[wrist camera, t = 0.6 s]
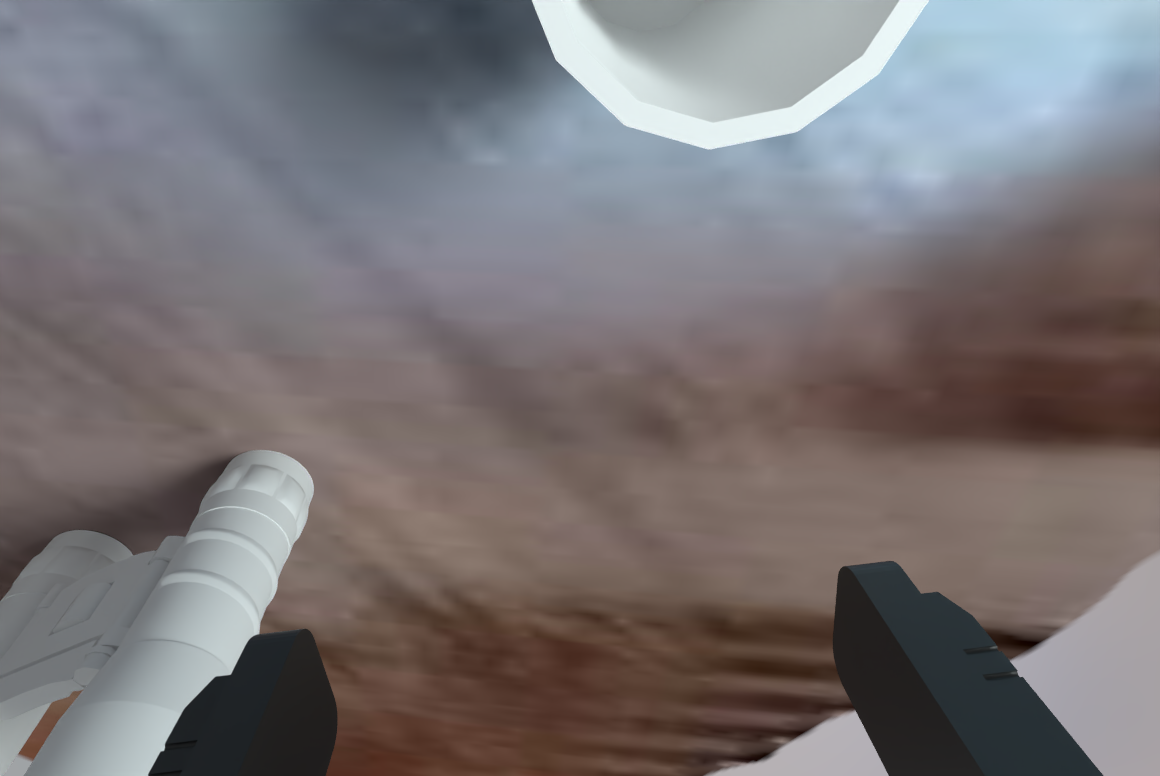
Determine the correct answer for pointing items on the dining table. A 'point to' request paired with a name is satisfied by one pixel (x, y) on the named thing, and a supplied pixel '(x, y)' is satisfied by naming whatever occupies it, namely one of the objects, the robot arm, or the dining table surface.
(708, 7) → the foam cup
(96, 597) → the binoculars
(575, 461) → the dining table surface
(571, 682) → the dining table surface
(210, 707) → the robot arm
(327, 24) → the dining table surface
